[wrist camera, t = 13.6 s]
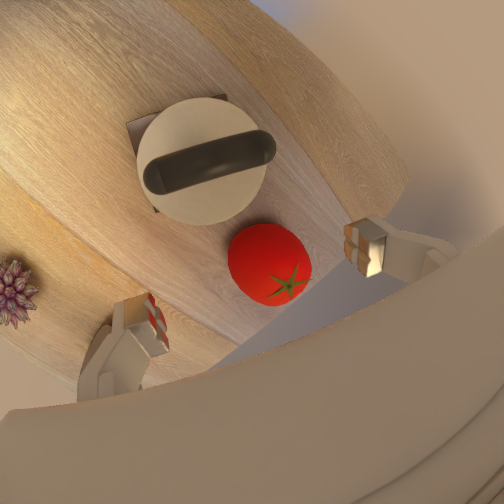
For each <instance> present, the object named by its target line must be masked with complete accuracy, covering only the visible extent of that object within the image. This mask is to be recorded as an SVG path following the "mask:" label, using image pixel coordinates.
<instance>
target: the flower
mask: <svg viewBox="0 0 504 504" xmlns="http://www.w3.org/2000/svg"><path fill="white" fill-rule="evenodd" d="M21 266H22V262H19V263H18V265H17V260H13V262H12V263H11V265H10V266H9V265H8V263H7V259H6V258H5V257H4V262H3V266H2V265H1V264H0V327H1V325H2V324H4V325H6V326H8V324H9V321H11V322H12V324H13V325H14V327H15V329H17V328H18V327H17V323H18V319H19V320H20V321H22V322H23V323H24V324H25V322H26V320H27V321H28V322H30V318H29V317H28V314H27V310H29V309H31V310H33V309H34V310H36V308H37V306H35V305H34V303H33V302H32V300H31V299H30V298H31V297H32V296H33V295H34V294H35V293H36V292H39V291H38V289H39V288H38V287H37V286H36V287H35V286H32V285H31V284H29V283H27V282H28V280H29V276H30V274H31V273H32V272H31V271H32V270H28V271H27V272H23V273H21ZM26 309H27V310H26ZM25 319H26V320H25Z"/></svg>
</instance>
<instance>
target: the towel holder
mask: <svg viewBox="0 0 504 504" xmlns="http://www.w3.org/2000/svg"><path fill="white" fill-rule="evenodd" d="M275 153H276V142H275V140H274V138H273V137H272V136H271V135H270V134H269V133H267V132H265V131H263V130H259V129H258V127H257V126H256V124H255V123H254V121H253V120H252V119H251V118H250V117H249V116H248V115H247V114H246V113H245V112H244V111H243V110H241V109H240V108H238V107H237V106H235V105H233V104H231V103H229V102H226V101H223V100H220V99H215V98H205V97H202V98H192V99H187V100H184V101H181V102H178V103H176V104H174V105H172V106H170V107H168V108H167V109H165V110H164V111H163V112H161V113H160V114H159V115H158V116H157V117H156V118H155V119H154V120H153V121H152V122H151V124H150V125H149V126H148V128H147V129H146V131H145V133H144V135H143V137H142V139H141V142H140V145H139V148H138V154H137V173H138V178H139V182H140V184H141V187H142V190H143V191H144V193H145V195H146V197H147V198H148V200H149V201H150V202H151V204H152V205H153V206H154V207H155V208H156V209H157V210H159V211H160V212H161V213H162V214H164V215H165V216H167V217H169V218H171V219H173V220H175V221H177V222H180V223H184V224H189V225H211V224H216V223H220V222H222V221H225V220H227V219H229V218H231V217H233V216H235V215H237V214H238V213H239V212H241V211H242V210H243V209H244V208H245V207H246V206H248V205H249V203H250V202H251V201H252V200H253V199H254V197H255V196H256V194H257V193H258V191H259V189H260V187H261V185H262V182H263V179H264V176H265V172H266V164H267V163H269V162H270V161H271V160H272V159H273V158H274V156H275Z"/></svg>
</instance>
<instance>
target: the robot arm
mask: <svg viewBox="0 0 504 504" xmlns="http://www.w3.org/2000/svg"><path fill="white" fill-rule="evenodd" d="M344 235H345V236H346V237H347V238H346V240H345V242H344V251H345V254H346V257H347V258H348V260H349V261H350V262H351V263H353V264H357V265H358V270H359V271H360V272H361V273H362V274H363V275H364V276H365V277H366V278H367V277H370V276H372V275H375V274H377V273H379V272H381V271H382V272H383V273H386V274H388V275H391V276H393V277H395V278H397V279H400V280H402V281H404V282H407V283H409V284H411V285H409V286H407V287H405V288H403V289H402V290H400V291H398V292H396V293H394V294H392V295H391V296H389V297H387V298H385V299H383V300H381V301H379V302H377V303H375V304H373V305H371V306H369V307H367V308H365V309H363V310H361V311H359V312H357V313H355V314H353V315H351V316H349V317H346V318H344V319H342V320H340V321H338V322H336V323H333V324H331V325H329V326H327V327H324V328H322V329H320V330H318V331H315V332H313V333H311V334H308V335H306V336H304V337H301V338H299V339H296V340H294V341H291V342H289V343H287V344H284V345H281V346H279V347H276V348H274V349H271V350H269V351H266V352H264V353H261V354H258V355H255V356H252V357H250V358H247V359H244V360H241V361H238V362H235V363H233V364H229V365H226V366H224V367H220V368H217V369H214V370H211V371H208V372H205V373H201V374H198V375H195V376H191V377H188V378H184V379H181V380H177V381H174V382H170V383H166V384H163V385H159V386H155V387H151V388H147V389H143V390H138V388H139V386H140V383H141V381H142V378H143V376H144V374H145V371H146V369H147V366H148V364H149V362H150V358H152V357H156V356H159V355H162V354H165V353H168V352H170V351H169V343H168V338H167V336H166V335H165V333H166V331H167V327H166V322H165V319H164V316H163V314H162V312H161V310H160V308H159V307H157V306H155V299H154V298H153V296H152V294H151V293H145V294H142V295H139V296H136V297H133V298H129V299H127V300H123V301H120V302H117V303H115V305H114V310H113V320H112V331H111V333H110V334H108V335H107V337H106V338H105V339H104V341H103V342H102V344H101V345H100V347H99V348H98V350H97V351H96V353H95V354H94V356H93V357H92V359H91V360H90V362H89V363H88V365H87V366H86V368H85V369H84V371H83V372H82V374H81V375H80V377H79V381H78V393H77V403H71V404H64V405H56V406H48V407H39V408H30V409H15V410H11V411H9V412H8V413H7V414H6V415H5V417H4V418H3V419H2V420H1V422H0V504H504V226H502V227H500V228H498V229H497V230H496V231H494V232H493V233H491V234H490V235H489V236H487V237H486V238H484V239H483V240H482V241H480V242H479V243H477V244H476V245H474V246H473V247H471V248H470V249H468V250H467V251H465V252H464V253H462V252H461V251H459V250H458V249H457V248H455V247H454V246H453V245H452V244H450V243H449V242H447V241H446V240H442V239H438V238H434V237H430V236H425V235H421V234H416V233H412V232H408V231H404V230H399V231H398V230H396V229H395V228H393V227H392V226H391V225H389V224H388V223H387V222H385V221H384V220H382V219H381V218H380V217H378V216H377V215H371V216H368V217H366V218H364V219H361V220H359V221H356V222H353V223H350V224H347V225H345V227H344Z"/></svg>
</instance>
